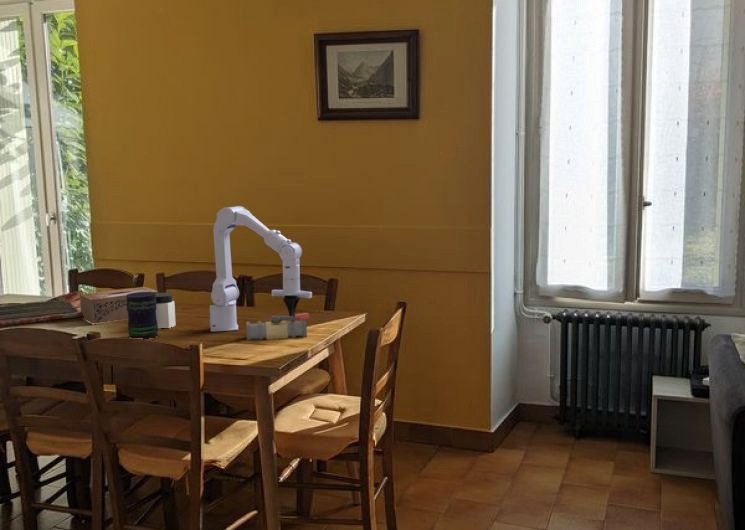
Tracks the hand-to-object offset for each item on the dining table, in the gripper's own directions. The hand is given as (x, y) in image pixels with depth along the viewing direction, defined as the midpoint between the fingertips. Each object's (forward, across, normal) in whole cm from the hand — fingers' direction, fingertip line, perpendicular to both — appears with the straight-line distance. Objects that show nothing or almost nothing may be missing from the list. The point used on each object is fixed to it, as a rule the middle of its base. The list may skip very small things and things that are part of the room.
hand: (292, 317), depth 254 cm
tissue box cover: (+7, -77, +6) cm, 78 cm away
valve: (+6, -3, -6) cm, 9 cm away
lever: (0, 0, -3) cm, 3 cm away
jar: (+6, -51, -4) cm, 51 cm away
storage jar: (+6, -47, -19) cm, 52 cm away
